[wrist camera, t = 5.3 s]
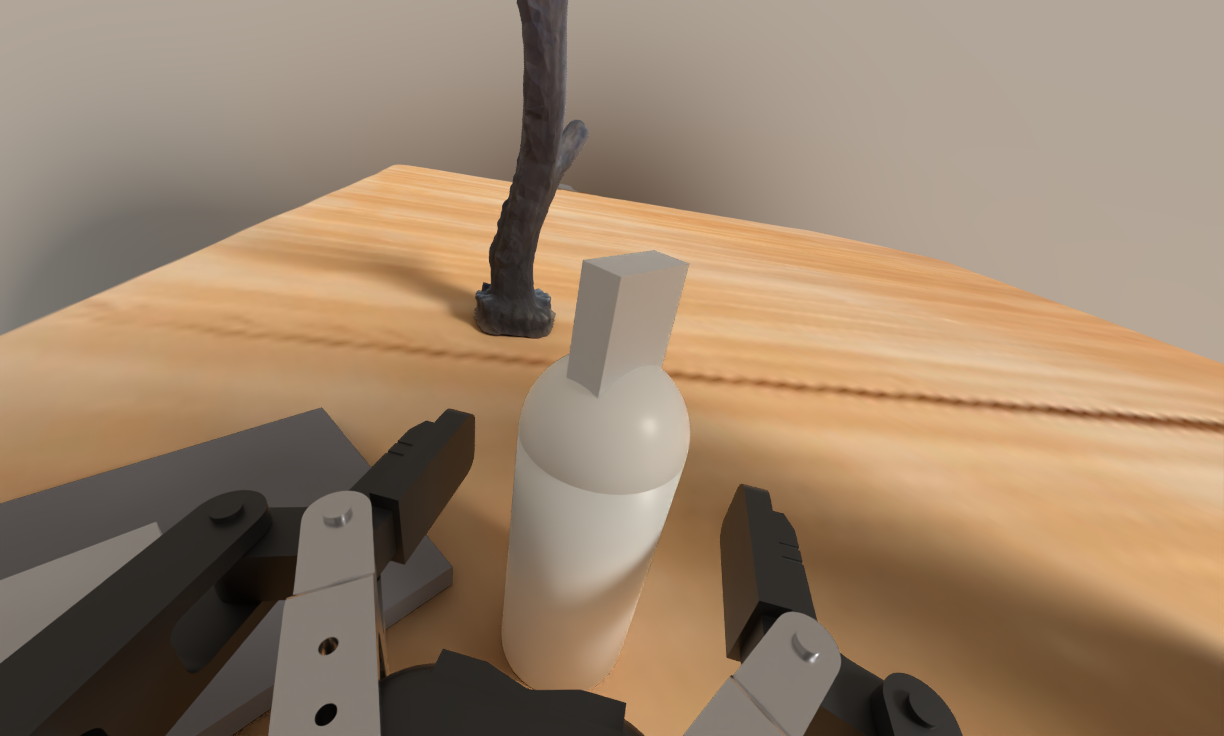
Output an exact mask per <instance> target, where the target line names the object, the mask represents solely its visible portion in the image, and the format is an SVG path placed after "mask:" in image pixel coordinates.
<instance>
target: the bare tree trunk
mask: <svg viewBox="0 0 1224 736" xmlns="http://www.w3.org/2000/svg"><path fill="white" fill-rule="evenodd" d="M517 5H518V8H519V12H520V17H521V21H522V37H523V44H524V75H523V97H524V104H523V119H522V124H523V125H522V137H521V145H520V147H521V148H520V152H519V156H518V159H517V167H516V173H515V175H514V177H513V184H512V185H511V186H510V194H509V198H508V199H507V200H506V201H505V202H504V203H503V205H502V212H501V217H500V219H499V220H498V222H497V226H498V230H497V234H496V235H495V237H494V240H493V242H492V244H491V246H490V249H489V263H490V267H491V284H488V283H483V286H482V290H481V291H480V290H478V291H477V292H476V296H475V298H476V300H477V307H476V308H475V311H476V312H475V316H474V319H475V320H477V324H478V326H479V327H481V330H483V331H484V332H486V333H489V334H494V335H500V334H509V335H514V336H523V337H524V336H528V337H530V338H541V337H544V336H547V335H549V333H550V332H551V328H552V327H553V324H554V323H553V321H554V318H555V315H556V313H554V312H553V311H552V310H551V304H550V301H551V297H550V296H549V294H548V293H544V292H543V291H542V290H540V289H539V288H538V289H536V290H534V287H533V284H534V282H533V262H534V258H535V252H536V248H537V243H538V238H539V234H540V230H541V227H542V225H543V222H544V220H545V217H546V215H547V213H548V209H549V206H550V204H551V202H552V200H553V198H554V196H555V193H556V190H557V188H558V185H559V183H560V180H561V179H562V177H563V176H564V173H565V172H566V171H567V170H568V169H569V168H570V166H571V165H572V163H573V161H574V160H575V159H576V157H577V156H578V154H579V152H581V150H582V148H583V146H584V144H585V142H586V140H587V138H588V134H589V132H588V129H587V128H586V126H585V125H584V123H583V122H582V121H581V120H574V121H571V122H570V123H569V124H568V125H567V126H566V127H565V129H564V130H563V123H564V115H565V104H566V76H567V55H566V54H567V5H568V0H517Z"/></svg>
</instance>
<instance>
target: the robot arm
mask: <svg viewBox="0 0 1224 736" xmlns="http://www.w3.org/2000/svg"><path fill="white" fill-rule="evenodd" d="M474 449H475V417H474V415H473V414H469V413H465V412H461V411H457V410H453V409H447V410H446V411H445V412H444V413H443V414H442V415H441V416H440V417H439V418H438V419H437V420H436V421H435V422H430V421H425V422H423V423H421V424H419V425H417V426H415V427H413V428H411V429H409V430H408V431H407V432H406V433H405V434H404V435H403V436H402V437H401V438H400V439H399V440H398V443H395V444H394V445H393V446H392V447H391V448H390V449H389V450H388V453H385V454H384V455H383V456H382V457H381V458H380V459H379V460H378V461H377V462H376V463H375V464H374V465H373V466H372V467H371V468H370V469H369V470H368V472H367V473H366V474H365V475H364V476H363V477H362V478H361V479H360V480H359V481H358V482H357V483H356V484H355V485H354V486H353V487H352V488H351V489H349V490H348V491H340V492H335V493H331V494H328V495H326V496H324V497H322V498H320V499H318V500H317V501H315V502H314V503H312V504H311V505H310V506H309V507H269V506H268V503H267V500H266V498H265V496H264V495H262V494H261V493H259V492H256V491H252V490H237V491H231V492H227V493H224V494H221V495H218V496H215V497H213V498H211V499H209V500H207V501H206V502H204V503H202V504H201V505H199V506H198V507H197V508H196V509H194V510H193V511H192V512H190V513H189V514H188V515H187V516H185V517H184V518H183V519H182V520H180V521H179V522H178V523H177V524H175V525H174V526H173V527H172V528H170V529H169V530H168V531H166V532H165V533H164V534H163V535H161V536H160V537H159V538H158V539H156V540H155V541H154V542H153V543H151V544H150V545H149V546H148V547H146V548H145V549H144V550H143V551H141V552H140V553H139V554H137V555H136V556H135V557H134V558H132V559H131V560H130V561H129V562H127V563H126V564H125V565H124V566H122V567H121V568H120V569H119V570H117V571H116V572H115V573H114V574H112V575H111V576H110V577H108V578H107V579H106V580H105V581H103V582H102V583H101V584H100V585H98V586H97V587H96V588H95V589H93V590H92V591H91V592H90V593H88V594H87V595H86V596H84V597H83V598H82V599H81V600H79V601H78V602H77V603H76V604H74V605H73V606H72V607H71V608H69V609H68V610H67V611H66V612H64V613H63V614H62V615H61V616H59V617H58V618H57V619H55V620H54V621H53V622H52V623H50V624H49V625H48V626H47V627H45V628H44V629H43V630H42V631H40V632H39V633H38V634H37V635H35V636H34V637H33V638H32V639H30V640H29V641H28V642H26V643H25V644H24V645H23V646H21V647H20V648H19V649H18V650H16V651H15V652H14V653H13V654H11V655H10V656H9V657H8V658H6V659H5V660H4V661H2V662H1V663H0V736H166V734H167V733H168V732H169V731H170V730H171V728H172V727H173V726H174V725H175V724H176V722H177V721H178V720H179V719H180V718H181V717H182V715H183V714H184V713H185V712H186V711H187V709H188V708H189V707H190V706H191V705H192V703H193V702H194V701H195V700H196V699H197V697H198V696H199V695H200V694H201V693H202V691H203V690H204V689H205V688H206V687H207V685H208V684H209V683H210V682H211V681H212V679H213V678H214V677H215V676H216V675H217V673H218V672H219V671H220V670H221V669H222V667H223V666H224V665H225V664H226V663H227V661H228V660H229V659H230V658H231V657H232V655H233V654H234V653H235V652H236V651H237V649H238V648H239V647H240V646H241V645H242V643H243V642H244V641H245V640H246V639H247V638H248V636H249V635H250V634H251V633H252V632H253V630H254V629H255V628H256V627H257V626H258V624H259V623H260V622H261V621H262V620H263V618H264V617H265V616H266V615H267V614H268V612H269V611H270V610H271V609H272V608H273V606H274V605H275V604H276V603H277V602H278V600H286V601H285V605H284V610H283V618H282V626H281V634H280V643H279V651H278V659H277V667H276V676H275V684H274V692H273V700H272V708H271V717H270V725H269V733H268V736H644V735H643V734H642V733H641V732H640V731H639V730H638V729H637V728H636V727H634V726H633V725H632V724H631V723H629V722H628V721H626V720H625V719H624V716H625V709H626V703H624V702H621V701H617V700H614V699H611V698H607V697H604V696H601V695H597V694H594V693H590V692H587V691H584V690H580V689H576V690H530V689H527V688H525V687H523V686H522V685H521V684H519V683H518V682H516V681H515V680H513V679H512V678H510V677H509V676H507V675H506V674H504V673H503V672H501V671H500V670H498V669H497V668H495V667H494V666H492V665H491V664H489V663H488V662H486V661H482V660H479V659H476V658H472V657H469V656H466V655H462V654H459V653H455V652H452V651H449V650H445V649H443V650H442V652H441V654H440V656H439V658H438V660H437V662H436V663H434V664H423V665H417V666H413V667H410V668H406V669H403V670H400V671H398V672H395V673H393V674H391V675H389V668H388V658H387V648H386V635H385V619H384V604H383V588H382V575H381V573H382V572H383V570H384V569H385V567H386V566H387V565H388V563H389V562H390V561H393V562H397V563H400V564H404V565H405V564H406V562H407V561H408V560H409V558H410V557H411V555H412V554H413V552H414V551H415V549H416V548H417V546H418V545H419V544H420V542H421V541H422V539H423V538H424V536H425V535H426V533H427V532H428V531H429V529H430V528H431V526H432V525H433V523H434V522H435V520H436V519H437V517H438V516H439V515H440V513H441V512H442V510H443V509H444V507H445V506H446V504H447V503H448V502H449V500H450V499H451V497H452V496H453V494H454V493H455V491H456V490H457V488H458V487H459V486H460V484H461V483H462V481H463V480H464V478H465V477H466V475H467V474H468V472H469V470H470V468H471V466H472V463H473V459H474ZM720 548H721V566H722V584H723V602H724V621H725V639H726V657H727V658H729V659H733V660H736V661H740V662H741V666H740V668H739V669H738V670H737V671H736V673H735V674H734V675H733V676H732V675H731V676H730V677H729V678H728V680H727V681H726V682H725V683H724V684H723V686H722V687H721V688H720V689H719V691H718V692H717V693H716V694H715V696H714V697H713V698H712V699H711V701H710V702H709V703H708V705H707V706H706V707H705V708H704V710H703V711H702V712H701V713H700V715H699V716H698V717H697V718H696V720H695V721H694V722H693V723H692V725H691V726H690V727H689V729H688V730H687V731H686V732H685V734H684V735H683V736H962V733H961V730H960V728H959V725H958V723H957V721H956V719H955V717H954V715H953V714H952V712H951V710H950V709H949V707H948V706H947V705H946V703H945V702H944V701H943V700H942V699H941V697H940V696H939V695H938V694H937V693H936V692H935V691H934V690H932V689H931V688H930V687H929V686H928V685H926V684H925V683H923V682H922V681H921V680H919V679H917V678H915V677H913V676H910V675H908V674H904V673H893V674H891V675H889V676H888V677H887V678H886V679H885V680H882V679H881V678H879V677H877V676H876V675H874V674H872V673H870V672H869V671H867V670H865V669H864V668H862V667H860V666H859V665H857V664H855V663H854V662H852V661H850V660H849V659H847V658H846V657H845V656H843V655H842V654H841V653H840V652H839V649H838V647H837V645H836V643H835V641H834V639H833V638H832V636H831V635H830V633H829V632H828V631H827V630H826V629H825V628H824V627H823V626H822V625H821V624H820V623H819V622H818V621H817V618H816V614H815V610H814V606H813V602H812V598H811V594H810V590H809V586H808V582H807V578H806V574H805V570H804V566H803V565H802V558H801V554H800V551H799V550H798V549H799V546H798V542H797V538H796V534H795V530H794V528H793V527H792V525H791V524H790V522H789V521H788V519H787V518H786V516H785V515H784V514H783V513H779V512H775V511H773V509H772V504H771V499H770V495H769V492H768V491H767V490H764V489H760V488H756V487H752V486H748V485H744V484H740V485H739V487H738V489H737V491H736V493H735V495H734V498H733V500H732V502H731V504H730V507H729V509H728V511H727V514H726V516H725V518H724V521H723V524H722V528H721V535H720Z"/></svg>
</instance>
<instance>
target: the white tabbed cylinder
mask: <svg viewBox="0 0 1224 736" xmlns="http://www.w3.org/2000/svg"><path fill="white" fill-rule="evenodd" d="M688 267H689V263H686V262H683V261H681V260H678V259H675V258H673V257H670V256H668V255H665V254H662V253H660V252H657V251H654V250H653V251H646V252H639V253H631V254H624V255H617V256H609V257H602V258H595V259H587V260H583V263H582V270H581V277H580V284H579V291H578V298H577V305H576V312H575V319H574V326H573V333H572V340H571V347H570V354H568V355H566V356H564V357H562V358H560V359H559V360H557V361H556V362H554V363H553V364H552V365H550V366H549V367H548V368H547V369H546V370H545V371H544V372H543V373H542V374H541V375H540V376H539V377H538V379H537V380H536V381H535V383H534V384H533V385H532V387H531V389H530V391H529V393H528V394H527V396H526V398H525V401H524V404H523V407H522V410H521V413H520V419H519V427H518V439H517V451H516V463H515V475H514V487H513V499H512V511H511V523H510V535H509V547H508V559H507V570H506V582H505V594H504V606H503V618H502V630H501V636H502V645H503V650H504V653H505V656H506V659H507V661H508V663H509V665H510V667H511V668H512V670H513V671H514V673H515V674H516V675H517V676H518V677H519V678H520V679H521V680H522V681H523V682H524V683H526V684H527V685H528V686H530V687H531V688H533V689H535V690H576V689H580V690H584V691H588V690H590V689H591V688H593V687H595V686H596V685H598V684H599V683H600V682H602V681H603V680H604V679H605V678H606V677H607V676H608V675H609V673H610V672H611V671H612V669H613V668H614V666H615V664H616V662H617V661H618V658H619V656H620V653H621V650H622V647H623V644H624V641H625V638H626V635H627V633H628V630H629V627H630V624H631V621H632V618H633V615H634V612H635V609H636V606H637V603H638V600H639V597H640V594H641V591H642V588H643V585H644V582H645V580H646V577H647V574H648V571H649V568H650V565H651V562H652V559H653V556H654V553H655V550H656V547H657V544H658V541H659V538H660V535H661V532H662V529H663V527H664V524H665V521H666V518H667V515H668V512H669V509H670V506H671V503H672V500H673V497H674V494H675V491H676V488H677V485H678V482H679V479H680V477H681V474H682V471H683V468H684V465H685V462H686V459H687V455H688V450H689V445H690V422H689V416H688V412H687V408H686V404H685V402H684V399H683V397H682V395H681V393H680V391H679V389H678V388H677V386H676V384H675V383H674V382H673V380H672V379H671V378H670V376H669V375H668V374H667V373H666V372H665V371H664V370H663V369H662V365H663V361H664V357H665V354H666V350H667V346H668V342H669V339H670V335H671V331H672V327H673V323H674V320H675V316H676V312H677V308H678V305H679V301H680V297H681V293H682V290H683V286H684V282H685V278H686V275H687V271H688Z"/></svg>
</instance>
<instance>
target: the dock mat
mask: <svg viewBox="0 0 1224 736" xmlns="http://www.w3.org/2000/svg"><path fill="white" fill-rule="evenodd" d="M370 468H371V467H370V465H369V464H368V463H367V462H366V460H365V459H364V458H363V457H362V456H361V454H360V453H359V452H358V451H357V449H356V448H355V447H354V446H353V445H352V443H351V442H350V441H349V440H348V438H347V437H346V436H345V435H344V434H343V432H342V431H341V430H340V429H339V427H338V426H337V425H336V424H335V423H334V421H333V420H332V419H331V418H330V416H329V415H328V414H327V413H326V412H325V410H324V409H323V408H322V407H321V408H318V409H315V410H311V411H308V412H305V413H301V414H298V415H295V416H291V417H288V418H285V419H281V420H278V421H275V422H271V423H268V424H265V425H261V426H258V427H255V428H251V429H248V430H245V431H241V432H238V433H235V434H231V435H228V436H225V437H221V438H218V439H215V440H211V441H208V442H205V443H201V444H198V445H194V446H191V447H188V448H184V449H181V450H178V451H174V452H171V453H168V454H164V455H161V456H158V457H154V458H151V459H148V460H144V461H141V462H138V463H134V464H131V465H128V466H124V467H121V468H118V469H114V470H111V471H108V472H104V473H101V474H98V475H94V476H91V477H88V478H84V479H81V480H78V481H74V482H71V483H68V484H64V485H61V486H58V487H54V488H51V489H48V490H44V491H41V492H37V493H34V494H31V495H27V496H24V497H21V498H17V499H14V500H11V501H7V502H4V503H1V504H0V663H1V662H2V661H4V660H5V659H6V658H8V657H9V656H10V655H11V654H13V653H14V652H15V651H16V650H18V649H19V648H20V647H21V646H23V645H24V644H25V643H26V642H28V641H29V640H30V639H32V638H33V637H34V636H35V635H37V634H38V633H39V632H40V631H42V630H43V629H44V628H45V627H47V626H48V625H49V624H50V623H52V622H53V621H54V620H55V619H57V618H58V617H59V616H61V615H62V614H63V613H64V612H66V611H67V610H68V609H69V608H71V607H72V606H73V605H74V604H76V603H77V602H78V601H79V600H81V599H82V598H83V597H84V596H86V595H87V594H88V593H90V592H91V591H92V590H93V589H95V588H96V587H97V586H98V585H100V584H101V583H102V582H103V581H105V580H106V579H107V578H108V577H110V576H111V575H112V574H114V573H115V572H116V571H117V570H119V569H120V568H121V567H122V566H124V565H125V564H126V563H127V562H129V561H130V560H131V559H132V558H134V557H135V556H136V555H137V554H139V553H140V552H141V551H143V550H144V549H145V548H146V547H148V546H149V545H150V544H151V543H153V542H154V541H155V540H156V539H158V538H159V537H160V536H161V535H163V534H164V533H165V532H166V531H168V530H169V529H170V528H172V527H173V526H174V525H175V524H177V523H178V522H179V521H180V520H182V519H183V518H184V517H185V516H187V515H188V514H189V513H190V512H192V511H193V510H194V509H196V508H197V507H198V506H199V505H201V504H202V503H204V502H206V501H207V500H209V499H211V498H213V497H215V496H218V495H221V494H224V493H227V492H231V491H237V490H252V491H256V492H259V493H261V494H262V495H264V496H265V498H266V500H267V503H268V506H269V507H309V506H310V505H311V504H312V503H314V502H315V501H317V500H318V499H320V498H322V497H324V496H326V495H328V494H331V493H335V492H340V491H348V490H349V489H351V488H352V487H353V486H354V485H355V484H356V483H357V482H358V481H359V480H360V479H361V478H362V477H363V476H364V475H365V474H366V473H367V472H368V470H369V469H370ZM381 575H382V588H383V604H384V619H385V630H386V629H387V628H389V627H390V626H392V625H393V624H395V623H396V622H398V621H399V620H400V619H402V618H403V617H405V616H406V615H408V614H409V613H411V612H412V611H413V610H415V609H416V608H418V607H419V606H421V605H422V604H424V603H425V602H427V601H428V600H429V599H431V598H432V597H434V596H435V595H437V594H438V593H440V592H441V591H443V590H444V589H445V588H447V587H448V586H450V585H451V584H453V571H452V566H451V564H450V563H449V562H448V561H447V560H446V558H445V557H444V556H443V555H442V553H441V552H440V551H439V550H438V549H437V547H436V546H435V545H434V544H433V542H432V541H431V540H430V539H429V537H428V536H427V535H425V536H424V538H423V539H422V541H421V542H420V544H419V545H418V546H417V548H416V549H415V551H414V552H413V554H412V555H411V557H410V558H409V560H408V561H407V562H406V564H405V565H404V564H400V563H397V562H393V561H390V562H389V563H388V565H387V566H386V567H385V569H384V570H383V572H382V573H381ZM285 601H286V600H278V602H277V603H276V604H275V605H274V606H273V608H272V609H271V610H270V611H269V612H268V614H267V615H266V616H265V617H264V618H263V620H262V621H261V622H260V623H259V624H258V626H257V627H256V628H255V629H254V630H253V632H252V633H251V634H250V635H249V636H248V638H247V639H246V640H245V641H244V642H243V643H242V645H241V646H240V647H239V648H238V649H237V651H236V652H235V653H234V654H233V655H232V657H231V658H230V659H229V660H228V661H227V663H226V664H225V665H224V666H223V667H222V669H221V670H220V671H219V672H218V673H217V675H216V676H215V677H214V678H213V679H212V681H211V682H210V683H209V684H208V685H207V687H206V688H205V689H204V690H203V691H202V693H201V694H200V695H199V696H198V697H197V699H196V700H195V701H194V702H193V703H192V705H191V706H190V707H189V708H188V709H187V711H186V712H185V713H184V714H183V715H182V717H181V718H180V719H179V720H178V721H177V722H176V724H175V725H174V726H173V727H172V728H171V730H170V731H169V732H168V733H167V734H166V736H232V735H233V734H235V733H236V732H238V731H239V730H241V729H242V728H243V727H245V726H246V725H248V724H249V723H251V722H252V721H254V720H255V719H256V718H258V717H259V716H261V715H262V714H264V713H265V712H267V711H268V710H270V709H271V708H272V700H273V692H274V684H275V676H276V667H277V659H278V651H279V643H280V634H281V626H282V618H283V610H284V605H285Z"/></svg>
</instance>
